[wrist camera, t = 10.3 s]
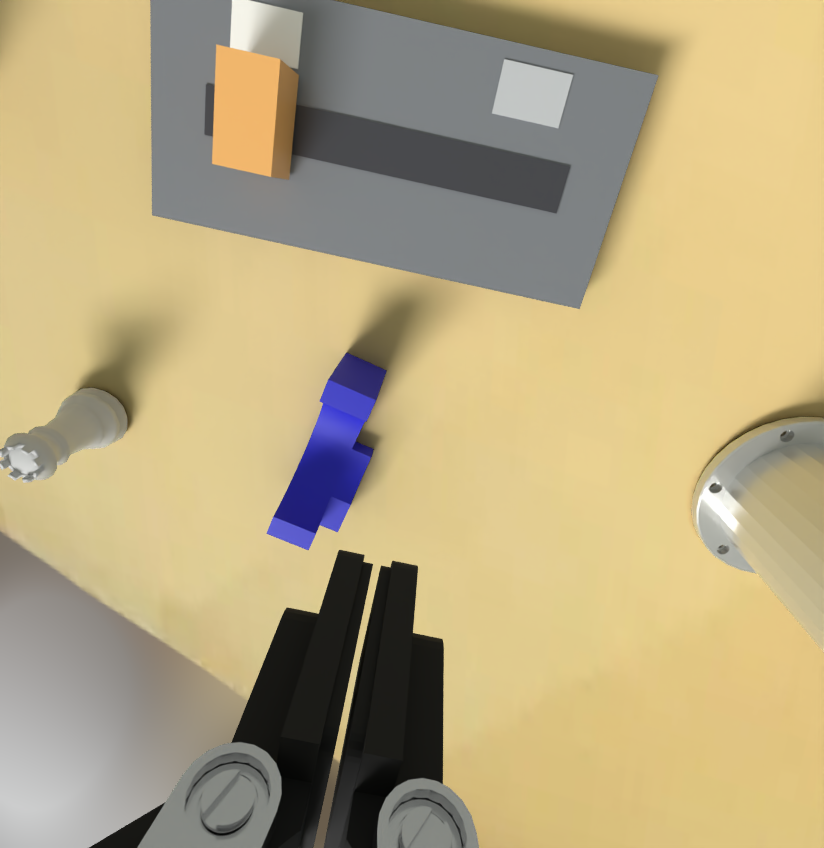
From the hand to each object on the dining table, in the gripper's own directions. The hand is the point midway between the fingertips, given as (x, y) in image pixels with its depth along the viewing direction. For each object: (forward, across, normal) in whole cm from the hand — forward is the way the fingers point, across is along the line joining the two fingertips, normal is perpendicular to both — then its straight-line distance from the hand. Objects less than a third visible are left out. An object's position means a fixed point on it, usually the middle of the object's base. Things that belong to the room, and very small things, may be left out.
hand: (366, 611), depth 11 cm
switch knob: (+23, +11, -10) cm, 27 cm away
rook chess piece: (+25, +22, +11) cm, 35 cm away
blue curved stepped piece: (+26, +4, +9) cm, 27 cm away
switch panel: (+25, +4, -10) cm, 27 cm away
